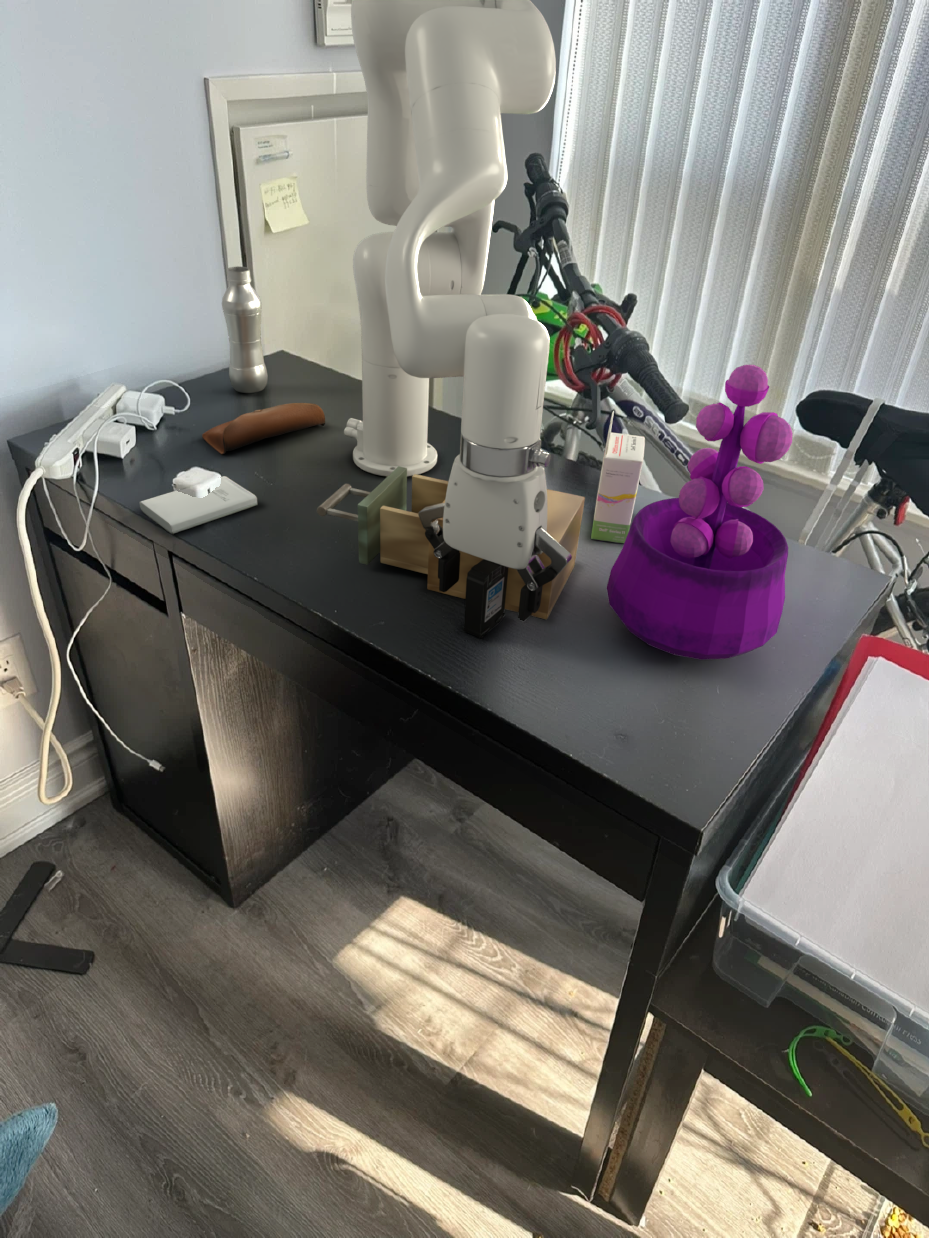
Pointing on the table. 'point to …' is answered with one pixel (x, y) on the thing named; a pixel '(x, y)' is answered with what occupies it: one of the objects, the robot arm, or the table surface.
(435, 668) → the table surface
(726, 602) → the decorative plant
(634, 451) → the ink box
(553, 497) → the cabinet
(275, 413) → the sunglasses case
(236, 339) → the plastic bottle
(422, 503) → the drawer
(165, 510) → the hard drive
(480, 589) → the ink cartridge
